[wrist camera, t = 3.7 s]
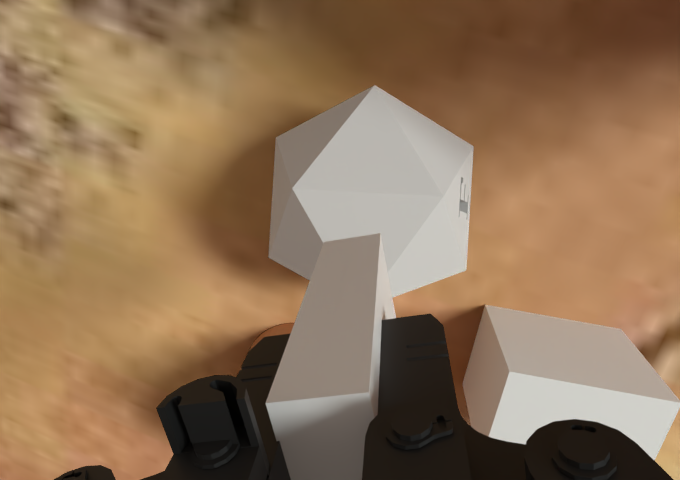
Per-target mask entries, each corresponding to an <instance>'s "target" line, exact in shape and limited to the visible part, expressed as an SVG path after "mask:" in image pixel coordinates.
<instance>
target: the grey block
mask: <svg viewBox="0 0 680 480" xmlns="http://www.w3.org/2000/svg"><path fill="white" fill-rule="evenodd" d="M462 385H463V389H464V394H465V399H466V404H467V408H468V413H469V418H470V423H471V427H472V428H474V429H475V430H476V431H478V432H479V433H482V434H484V435H486V436H488V437H491V438H494V439H498V440H503V441H507V442H513V443H520V444H526V441H527V440H528V439H529V437H530V436H531V435H532V434H533V433H534V432H535V431H536V430H537V429H538V428H540V427H542V426H545V425H547V424H549V423H551V422H554V421H561V420H570V419H579V420H586V421H594V422H599V423H601V424H604V425H607V426H609V427H612V428H614V429H617V430H619V431H621V432H622V433H623V434H625V435H626V436H627V437H629V438H630V439H632V440H633V441H634V442H636V443H637V444H638V445H639V446H640V447H641V448H642V449H643V450H644V451H645V452H646V453H647V454H648V455H649V456H650V457H651V458H652V459H653V460H655V458H656V456H657V454H658V452H659V450H660V448H661V446H662V444H663V442H664V440H665V437H666V435H667V433H668V431H669V429H670V427H671V425H672V423H673V421H674V419H675V417H676V414H677V412H678V410H679V408H680V400H679V399H678V398H677V397H676V395H675V394H674V393H673V392H672V390H671V389H670V388H669V387H668V386H667V384H666V383H665V382H664V381H663V380H662V378H661V377H660V376H659V375H658V373H657V372H656V371H655V370H654V369H653V367H652V366H651V365H650V364H649V362H648V361H647V360H646V359H645V358H644V356H643V355H642V354H641V353H640V352H639V350H638V349H637V348H636V347H635V345H634V344H633V343H632V342H631V341H630V339H629V338H628V337H627V336H626V334H625V333H624V332H623V331H622V330H621V329H618V328H613V327H607V326H602V325H596V324H590V323H585V322H579V321H574V320H568V319H563V318H557V317H551V316H546V315H540V314H535V313H529V312H523V311H518V310H512V309H507V308H501V307H496V306H490V305H485V307H484V310H483V314H482V317H481V321H480V324H479V328H478V331H477V335H476V338H475V342H474V345H473V349H472V352H471V356H470V359H469V363H468V366H467V370H466V373H465V377H464V380H463V384H462Z"/></svg>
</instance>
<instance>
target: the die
mask: <svg viewBox="0 0 680 480" xmlns="http://www.w3.org/2000/svg"><path fill="white" fill-rule="evenodd" d="M473 148H474V146H472V145H471V144H469V143H467V142H466V141H464V140H463V139H461V138H459V137H458V136H456V135H454V134H453V133H451V132H450V131H448V130H446V129H445V128H443V127H442V126H440V125H438V124H437V123H435V122H434V121H432V120H430V119H429V118H427V117H425V116H424V115H422V114H421V113H419V112H417V111H416V110H414V109H413V108H411V107H409V106H408V105H406V104H404V103H403V102H401V101H400V100H398V99H396V98H395V97H393V96H392V95H390V94H388V93H387V92H385V91H384V90H382V89H380V88H379V87H377V86H375V85H374V86H372V87H370V88H368V89H367V90H365V91H363V92H361V93H359V94H357V95H355V96H353V97H351V98H350V99H348V100H346V101H344V102H342V103H340V104H338V105H336V106H334V107H332V108H331V109H329V110H327V111H325V112H323V113H321V114H319V115H317V116H315V117H314V118H312V119H310V120H308V121H306V122H304V123H302V124H300V125H298V126H297V127H295V128H293V129H291V130H289V131H287V132H285V133H283V134H281V135H280V136H278V137H276V143H275V159H274V175H273V191H272V208H271V224H270V240H269V256H268V258H270V259H272V260H274V261H275V262H277V263H279V264H281V265H283V266H284V267H286V268H288V269H290V270H292V271H293V272H295V273H297V274H299V275H301V276H303V277H304V278H306V279H308V280H310V279H311V276H312V273H313V271H314V268H315V265H316V262H317V260H318V257H319V254H320V251H321V249H322V246H323V243H324V242H326V241H333V240H339V239H346V238H352V237H359V236H365V235H371V234H378V233H381V239H382V244H383V250H384V255H385V261H386V266H387V271H388V277H389V282H390V288H391V293H392V297H395V296H398V295H401V294H403V293H406V292H409V291H411V290H414V289H417V288H420V287H422V286H425V285H428V284H430V283H433V282H436V281H439V280H441V279H444V278H447V277H449V276H452V275H455V274H457V273H460V272H463V271H466V267H467V250H468V233H469V216H470V199H471V182H472V165H473Z"/></svg>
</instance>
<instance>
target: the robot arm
mask: <svg viewBox="0 0 680 480" xmlns="http://www.w3.org/2000/svg"><path fill="white" fill-rule="evenodd" d="M241 368H242V370H240V371H239V373H238V375H237V377H236V378H235V377H233V376H230V375H214V376H210V377H205V378H201V379H197V380H195V381H193V382H191V383H188V384H186V385H184V386H181V387H180V388H179V389H177V390H176V391H174V392H173V393H171V394H170V395H168V396H167V397H166V398H165V399H164V400H163V401H162V402H161V403H160V405H159V406H158V407H157V408H156V409H157V411H158V414H159V417H160V419H161V422H162V425H163V427H164V430H165V432H166V435H167V438H168V440H169V443H170V446H171V448H172V451H173V453H174V455H173V457H172V458H171V460H170V462H169V464H168V466H167V468H166V470H165V471H163V472H161V473H158V474H156V475H153V476H150V477H147V478H144V479H141V480H673V479H672V478H671V477H670V476H669V475H668V474H667V473H666V472H665V471H664V470H663V469H662V468H661V467H660V466H659V465H658V464H657V463H656V462H655V461H654V460H653V459H652V458H651V457H650V456H649V455H648V454H647V453H646V452H645V451H644V450H643V449H642V448H641V447H640V446H639V445H638V444H637V443H636V442H634V441H633V440H632V439H630V438H629V437H627V436H626V435H625V434H623V433H622V432H621V431H619V430H617V429H614V428H612V427H609V426H607V425H604V424H601V423H599V422H594V421H586V420H579V419H570V420H561V421H554V422H551V423H549V424H547V425H545V426H542V427H540V428H538V429H537V430H536V431H535V432H534V433H533V434H532V435H531V436H530V437H529V439H528V440H527V441H526V444H520V443H513V442H507V441H503V440H498V439H494V438H491V437H488V436H486V435H484V434H482V433H479V432H478V431H476V430H475V429H474V428H472V427H471V426H469V425H468V424H467V423H466V421H465V420H464V419H463V418H462V416H461V414H460V412H459V409H458V406H457V400H456V394H455V389H454V383H453V378H452V372H451V366H450V361H449V355H448V350H447V344H446V338H445V333H444V327H443V325H442V324H441V323H440V322H439V321H438V320H437V319H436V318H435V317H433V316H432V315H431V314H425V315H417V316H409V317H401V318H396V315H395V310H394V304H393V299H392V293H391V288H390V282H389V277H388V271H387V266H386V261H385V255H384V250H383V244H382V239H381V233H378V234H371V235H365V236H359V237H352V238H346V239H339V240H333V241H326V242H324V243H323V246H322V249H321V251H320V254H319V257H318V260H317V262H316V265H315V268H314V271H313V273H312V276H311V279H310V282H309V284H308V287H307V290H306V293H305V295H304V298H303V301H302V304H301V307H300V309H299V312H298V315H297V318H296V320H295V323H294V326H293V329H292V331H291V333H290V334H282V335H275V336H267V337H264V338H263V339H262V340H260V341H259V342H258V343H257V344H256V345H255V346H254V347H253V348H252V349H251V350H250V351H249V352H248V354H247V356H246V358H245V360H244V362H243V364H242V367H241ZM54 480H116V479H115V477H114V475H113V473H112V471H111V469H108V468H106V467H103V466H101V465H98V466H85V467H81V468H78V469H75V470H72V471H69V472H67V473H64V474H63V475H61V476H59V477H58V478H56V479H54Z"/></svg>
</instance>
